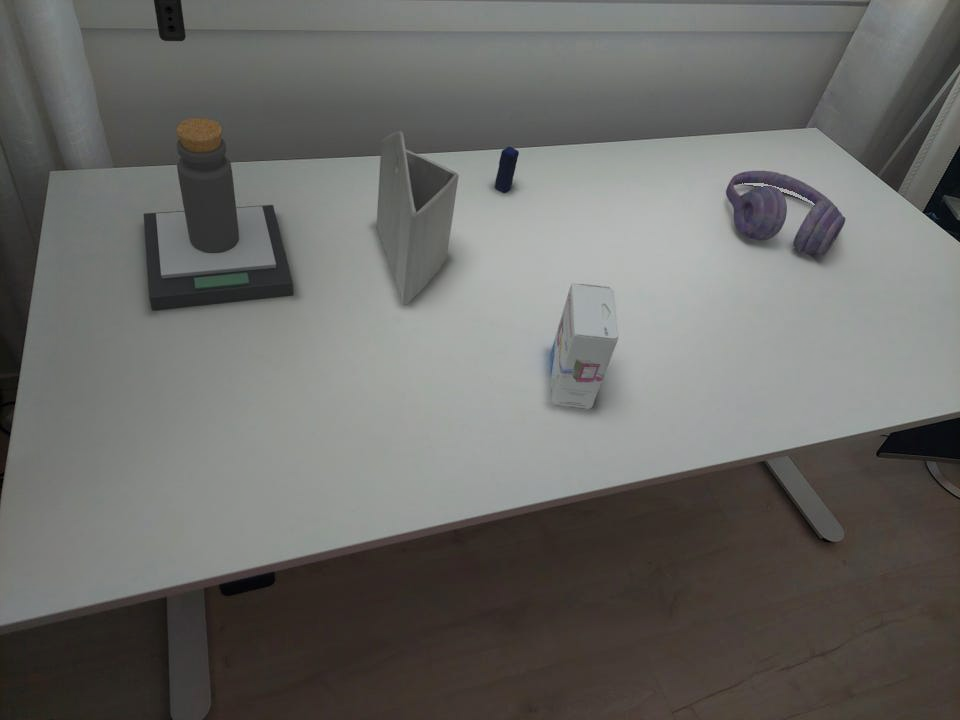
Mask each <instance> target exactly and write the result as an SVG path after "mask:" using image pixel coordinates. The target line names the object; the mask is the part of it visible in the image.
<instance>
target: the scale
mask: <svg viewBox="0 0 960 720" xmlns="http://www.w3.org/2000/svg"><path fill="white" fill-rule="evenodd" d="M236 211H237V220H238V230H239V240H238V243H237V244H236V245H235V246H234V247H233V248H231V249H229V250H227V251H224V252H219V253H207V252H203V251H200V250H198V249H196V248H195V247H194V246H193V245H192V244H191V242H190V239H189V234H188V229H187V223H186V217H185V212H184V210H178V211H177V210H176V211H161V212H150V213H149V212H148V213H143V225H144V227H143V228H144V240H145V241H144V242H145V255H146V256H145V257H146V269H147V270H146V271H147V287H148V298H149V303H150V306H151V307H150V308H151V311H152V312H158V311H165V310H174V309H175V310H176V309H185V308H191V307H192V308H193V307H200V306H210V305H211V306H212V305H219V304H220V305H221V304H229V303H239V302H247V301H257V300H266V299H275V298H283V297H284V298H285V297H293V296H294V282H293V279H292V275H291V270H290V267H289V263H288V259H287V254H286V250H285V247H284V242H283V238H282V235H281V231H280V226H279V223H278V219H277V215H276V212H275V207H274V205H273V204H266V205H265V204H264V205H251V206H250V205H249V206H236Z"/></svg>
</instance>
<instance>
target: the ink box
mask: <svg viewBox="0 0 960 720" xmlns="http://www.w3.org/2000/svg"><path fill="white" fill-rule="evenodd" d="M617 320H618V319H617V311H616V301H615V291H614V290H613V289H612V288H611V287H610V286H605V285H597V284H587V283H575V282H573V283H571V284H570V287H569V290H568V293H567V296H566V300H565V303H564V307H563V310H562V314H561V317H560V320H559V323H558V328H557V330H556V334H555V337H554V341H553V343H552V347H551V351H550V353H549V354H550V355H549V356H550V383H551V404H552V405H554V406H561V407H569V408H577V409H583V410H585V409H586V410H591V409H592V408H593V406H594V403H595V401H596V398H597V396H598V392H599V390H600V388H601V385H602V382H603V380H604V378H605V375H606V373H607V369H608V367H609V364H610V362H611V360H612V356H613V353H614V351H615V348H616V346H617V343H618V341H619V332H618V331H619V330H618V321H617Z"/></svg>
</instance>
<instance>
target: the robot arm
mask: <svg viewBox="0 0 960 720" xmlns="http://www.w3.org/2000/svg"><path fill="white" fill-rule="evenodd" d="M153 4H154V5H153V6H154V10H155V17H156V24H157V31H158V35H159V36H158V37H159V38H160V39H161V40H162V41H164V42H183V41H185V40H186V30H185V29H186V28H185V22H184V14H183V6H182V0H153Z"/></svg>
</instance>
